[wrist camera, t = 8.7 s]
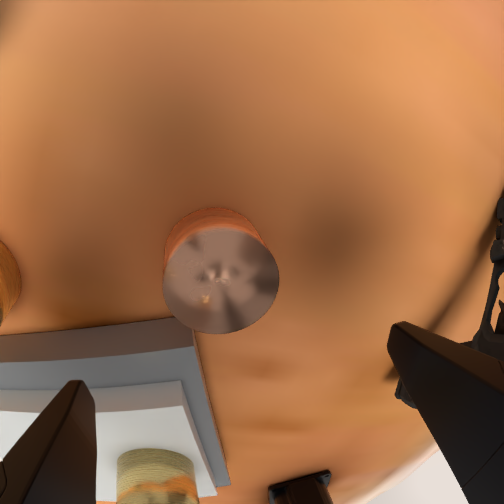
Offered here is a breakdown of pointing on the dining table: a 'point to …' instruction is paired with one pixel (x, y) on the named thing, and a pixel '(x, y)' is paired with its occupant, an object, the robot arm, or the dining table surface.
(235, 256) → the brown short cylinder
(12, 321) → the dining table surface
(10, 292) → the gold cylinder
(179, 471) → the brass short cylinder
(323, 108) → the dining table surface
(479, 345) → the handgun
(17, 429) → the scale
